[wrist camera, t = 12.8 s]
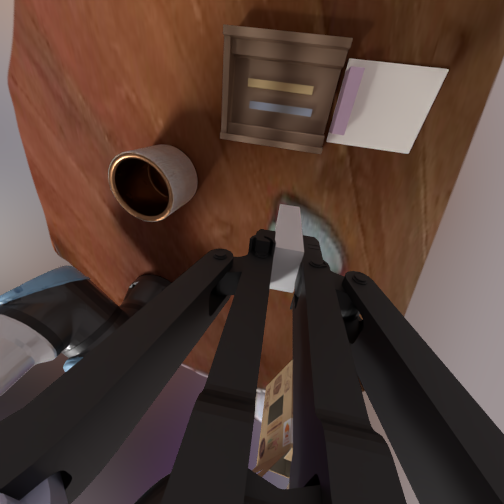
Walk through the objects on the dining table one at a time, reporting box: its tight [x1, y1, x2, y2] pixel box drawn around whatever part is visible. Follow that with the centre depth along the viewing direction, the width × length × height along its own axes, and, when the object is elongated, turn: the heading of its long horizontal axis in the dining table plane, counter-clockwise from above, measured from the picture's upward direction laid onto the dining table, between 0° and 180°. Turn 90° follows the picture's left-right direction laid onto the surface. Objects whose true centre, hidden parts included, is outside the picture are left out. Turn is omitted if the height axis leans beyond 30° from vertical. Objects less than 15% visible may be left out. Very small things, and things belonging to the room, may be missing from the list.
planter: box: [108, 144, 198, 222], centre depth 36 cm, size 11×11×10 cm
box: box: [252, 360, 293, 489], centre depth 57 cm, size 21×20×30 cm
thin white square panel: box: [326, 58, 449, 154], centre depth 28 cm, size 12×10×4 cm
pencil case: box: [220, 25, 353, 154], centre depth 29 cm, size 15×12×4 cm
